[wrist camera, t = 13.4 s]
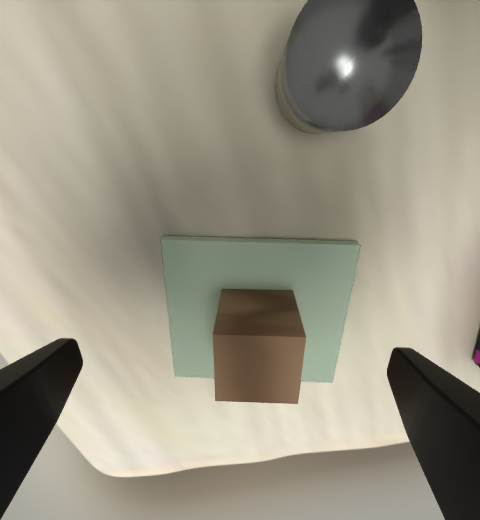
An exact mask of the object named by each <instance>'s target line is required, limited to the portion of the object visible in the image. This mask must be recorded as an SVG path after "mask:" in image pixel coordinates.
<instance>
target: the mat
mask: <svg viewBox="0 0 480 520" xmlns="http://www.w3.org/2000/svg"><path fill="white" fill-rule="evenodd" d="M360 246H361V245H360V244H359V243H358V242H357V241H335V240H298V239H261V238H223V237H186V236H163V238H162V239H161V250H162V259H163V269H164V278H165V288H166V297H167V307H168V316H169V325H170V335H171V344H172V354H173V363H174V373H175V376H180V377H204V378H214V356H213V330H214V325H215V320H216V315H217V310H218V305H219V300H220V295H221V290H222V289H260V290H293V292H294V295H295V299H296V302H297V306H298V310H299V313H300V317H301V320H302V324H303V327H304V331H305V334H306V344H305V351H304V359H303V367H302V375H301V381H303V382H327V383H333V378H334V373H335V368H336V363H337V358H338V353H339V349H340V344H341V339H342V334H343V329H344V324H345V319H346V314H347V309H348V304H349V299H350V295H351V290H352V285H353V280H354V275H355V270H356V265H357V260H358V255H359V250H360Z"/></svg>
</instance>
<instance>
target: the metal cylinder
mask: <svg viewBox="0 0 480 520" xmlns="http://www.w3.org/2000/svg"><path fill="white" fill-rule="evenodd" d="M421 47H422V26H421V20H420V15H419V12H418V9H417V6H416V4H415V2H414V0H308V2H307V3H306V4H305V5H304V7H303V9H302V10H301V12H300V14H299V15H298V17H297V19H296V22H295V24H294V26H293V28H292V31H291V34H290V37H289V39H288V42H287V45H286V47H285V50H284V53H283V55H282V58H281V61H280V64H279V67H278V70H277V74H276V82H275V90H276V97H277V102H278V105H279V107H280V110H281V112H282V114H283V115H284V117H285V118H286V119H287V120H288V121H289V122H290V123H291V124H292V125H293V126H294V127H296V128H298V129H299V130H302V131H304V132H308V133H315V134H317V133H329V132H338V131H348V130H354V129H358V128H361V127H364V126H367V125H369V124H371V123H373V122H375V121H377V120H378V119H380V118H381V117H383V116H384V115H385V114H386V113H388V112H389V111H390V110H391V109H392V108H393V107H394V106H395V105H396V104H397V102H398V101H399V100H400V99H401V98H402V96H403V95H404V93H405V92H406V90H407V89H408V87H409V85H410V83H411V81H412V79H413V77H414V74H415V72H416V69H417V66H418V62H419V59H420V53H421Z"/></svg>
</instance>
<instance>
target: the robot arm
mask: <svg viewBox="0 0 480 520" xmlns="http://www.w3.org/2000/svg"><path fill="white" fill-rule="evenodd" d="M82 366H83V359H82V356H81V352H80V349H79V346H78V343H77V341H76V340H75V339H72V338H60V339H57V340H55V341H54V342H52V343H50V344H48V345H46V346H44V347H42V348H40V349H38V350H36V351H35V352H33V353H31V354H29V355H27V356H25V357H23V358H21V359H19V360H17V361H16V362H14V363H12V364H10V365H8V366H6V367H4V368H2V369H0V519H1V518H2V516H3V514H4V513H5V511H6V509H7V508H8V506H9V504H10V502H11V501H12V499H13V497H14V495H15V494H16V492H17V490H18V488H19V487H20V485H21V483H22V482H23V480H24V478H25V476H26V475H27V473H28V471H29V469H30V468H31V466H32V464H33V462H34V461H35V459H36V457H37V456H38V454H39V452H40V450H41V449H42V447H43V445H44V443H45V441H46V440H47V438H48V436H49V435H50V433H51V431H52V429H53V427H54V426H55V424H56V422H57V420H58V418H59V416H60V414H61V412H62V410H63V408H64V406H65V404H66V401H67V399H68V397H69V395H70V393H71V391H72V388H73V386H74V384H75V382H76V380H77V378H78V375H79V373H80V371H81V369H82ZM387 377H388V381H389V384H390V386H391V389H392V392H393V395H394V398H395V401H396V404H397V407H398V410H399V413H400V416H401V419H402V422H403V425H404V428H405V430H406V433H407V436H408V438H409V440H410V443H411V445H412V447H413V449H414V451H415V453H416V456H417V458H418V461H419V463H420V465H421V467H422V469H423V472H424V474H425V476H426V478H427V481H428V483H429V485H430V487H431V489H432V492H433V494H434V496H435V498H436V501H437V503H438V505H439V507H440V509H441V512H442V513H443V516H444V518H445V520H480V393H479V392H478V391H476V390H475V389H473V388H471V387H470V386H468V385H467V384H465V383H464V382H462V381H461V380H459V379H458V378H456V377H455V376H453V375H452V374H450V373H449V372H447V371H445V370H444V369H442V368H441V367H439V366H438V365H436V364H435V363H433V362H432V361H430V360H429V359H427V358H426V357H424V356H423V355H421V354H419V353H418V352H416V351H415V350H413V349H411V348H404V347H396V348H394V349H393V351H392V354H391V357H390V361H389V364H388V368H387Z"/></svg>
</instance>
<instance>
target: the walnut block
mask: <svg viewBox="0 0 480 520" xmlns="http://www.w3.org/2000/svg"><path fill="white" fill-rule="evenodd" d="M305 344H306V334H305V331H304V327H303V324H302V320H301V317H300V313H299V310H298V306H297V302H296V299H295V295H294V292H293V290H260V289H222V290H221V295H220V300H219V305H218V310H217V315H216V320H215V325H214V330H213V356H214V379H215V401H234V402H261V403H289V404H298V399H299V391H300V383H301V375H302V367H303V359H304V351H305Z"/></svg>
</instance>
